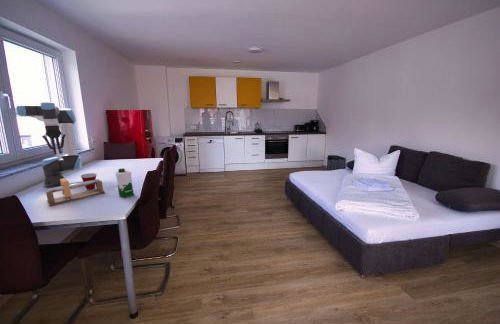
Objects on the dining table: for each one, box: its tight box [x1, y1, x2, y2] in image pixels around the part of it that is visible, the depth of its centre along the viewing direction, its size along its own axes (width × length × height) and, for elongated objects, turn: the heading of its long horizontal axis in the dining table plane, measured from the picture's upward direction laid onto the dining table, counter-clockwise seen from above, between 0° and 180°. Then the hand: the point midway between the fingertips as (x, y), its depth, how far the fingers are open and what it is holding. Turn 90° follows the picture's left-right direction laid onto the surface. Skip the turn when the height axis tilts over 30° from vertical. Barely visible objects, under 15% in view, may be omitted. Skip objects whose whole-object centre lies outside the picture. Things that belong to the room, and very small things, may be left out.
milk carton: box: [115, 168, 135, 199], centre depth 166 cm, size 9×9×20 cm
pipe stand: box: [45, 179, 106, 207], centre depth 165 cm, size 12×32×9 cm, turn 138°
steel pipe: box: [48, 178, 100, 193], centre depth 164 cm, size 4×29×4 cm, turn 138°
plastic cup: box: [80, 172, 98, 191], centre depth 183 cm, size 11×11×12 cm
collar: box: [60, 177, 72, 197], centre depth 160 cm, size 11×3×11 cm, turn 48°
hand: (58, 158), depth 164 cm, fingers closed
